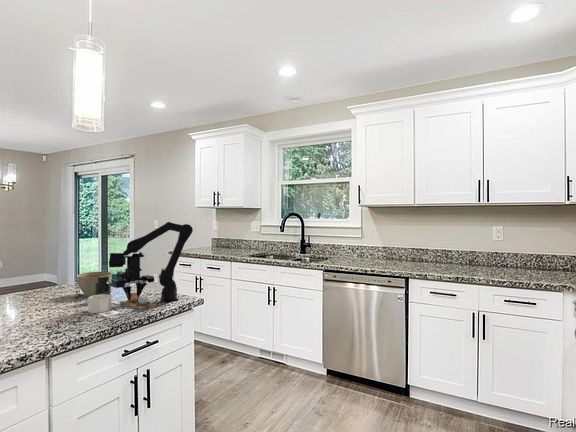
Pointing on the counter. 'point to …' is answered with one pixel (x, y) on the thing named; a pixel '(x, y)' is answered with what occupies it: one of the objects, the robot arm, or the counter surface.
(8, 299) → the counter surface
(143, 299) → the ball grey
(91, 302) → the cup
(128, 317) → the counter surface
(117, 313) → the tile
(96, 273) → the planter bowl
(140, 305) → the stand
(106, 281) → the supplement bottle
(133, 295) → the ball terracotta
